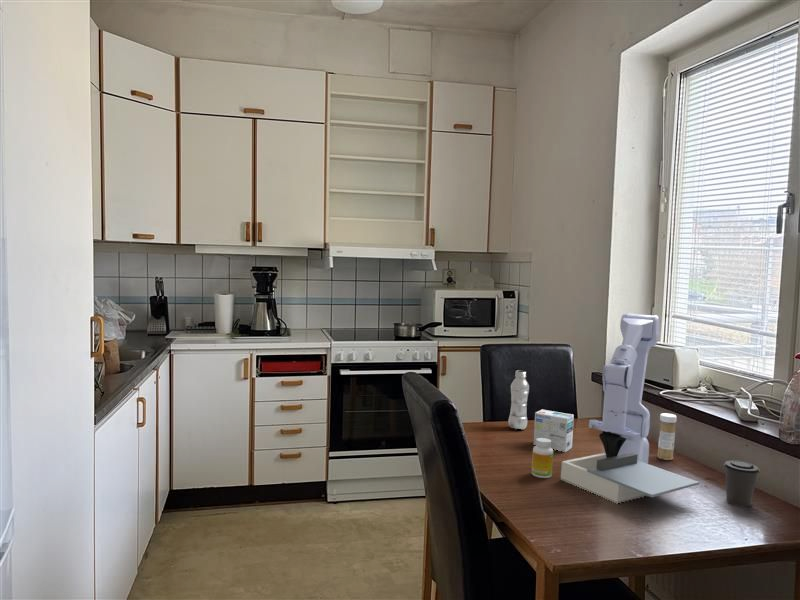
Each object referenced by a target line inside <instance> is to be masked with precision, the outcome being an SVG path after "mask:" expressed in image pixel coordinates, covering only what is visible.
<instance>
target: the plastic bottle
mask: <svg viewBox="0 0 800 600" xmlns="http://www.w3.org/2000/svg"><path fill="white" fill-rule="evenodd" d="M514 377H515V378H514V379H513V381H512V382H511V383H510V394H511V396H510V401H511V403H510V410H509V411H510V413H509V416H508V426H509V428H511V429H513V428H514V429H513V430H517V429H521V430H525V429H526V428H527V427H528V417H527V416H528V415H527V410H528V409H527V406H528V403H527V402H528V397H529V393H530V385H529V382H528V381H527V379H526V378H527V371H525V370H516V371H515V375H514Z"/></svg>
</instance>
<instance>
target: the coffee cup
mask: <svg viewBox="0 0 800 600" xmlns="http://www.w3.org/2000/svg"><path fill="white" fill-rule="evenodd" d="M723 466H724V467H725V486H726V487H725V489H726V501H727V502H728V503H731V504H733V505H735V506H740V507H750V506H751V505H752V502H753V496H754V492H755V488H756V485H757V484H756V483H757V479H758V474H759V473H761V469H760V467H759V466H757V465H755V464H753V463H750V462H748V461H744V460H737V459H736V460H726V461H724V463H723Z"/></svg>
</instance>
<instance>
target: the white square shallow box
mask: <svg viewBox="0 0 800 600" xmlns="http://www.w3.org/2000/svg"><path fill="white" fill-rule="evenodd" d="M604 458H606V453H605V452H603V453H597V454H592V455H587V456H582V457H578V458H573V459H567V460H563V461H561V468H560V480H561V481H563V482H565V483H568V484H570V485H571V484H572V486H573V487H576V486H577V487H576V488H578V487H579V488H578V489H581V488H582V489H581V490H583V489H584V491H585V490H587V491H586V492H588V491H589V492H588V493H590V492H591V494H592V493H594V494H596V495H595V496H597V495H598V496H597V497H599V496H601V497H603V498H602V499H604V498H605V499H604V500H606V499H607V500H606V501H608V500H610V501H609V502H611V501H612V502H611V503H613V502H614V503H613V504H615V503H616V504H615V505H619V504H618V503H620V504H622V503H621V502H624V503H626V502H625V501H627V502H629V501H628V500H631V501H633V500H632V499H635V500H637V499H636V498H638V499H641V498H640V497H642V498H645V497H644V496H646V497H648V496H647V495H644V494H642V493H639V492H637V491H634V490H632V489H629V488H627V487H624V486H622V485H619V484H617V483H614V482H612V481H609V480H607V479H604V478H602V477H599V476H597V475H594V474H592V473H589V472H587V469H591V468H596V467H597V460H599V459H604ZM594 494H593V495H594ZM601 497H600V498H601Z"/></svg>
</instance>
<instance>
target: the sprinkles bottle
mask: <svg viewBox="0 0 800 600" xmlns="http://www.w3.org/2000/svg"><path fill="white" fill-rule="evenodd" d="M659 415H660V416H659V420H660V421H659V433H658V434H659V435H658V444H657V446H658V447H657V448H658V449H657V458H658V459H660V460H664V461H672V460H674V449H675V438H676V424H677V417H678V416H677V415H676V414H673V413H667V412H665V413H664V412H663V413H660V414H659Z"/></svg>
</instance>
